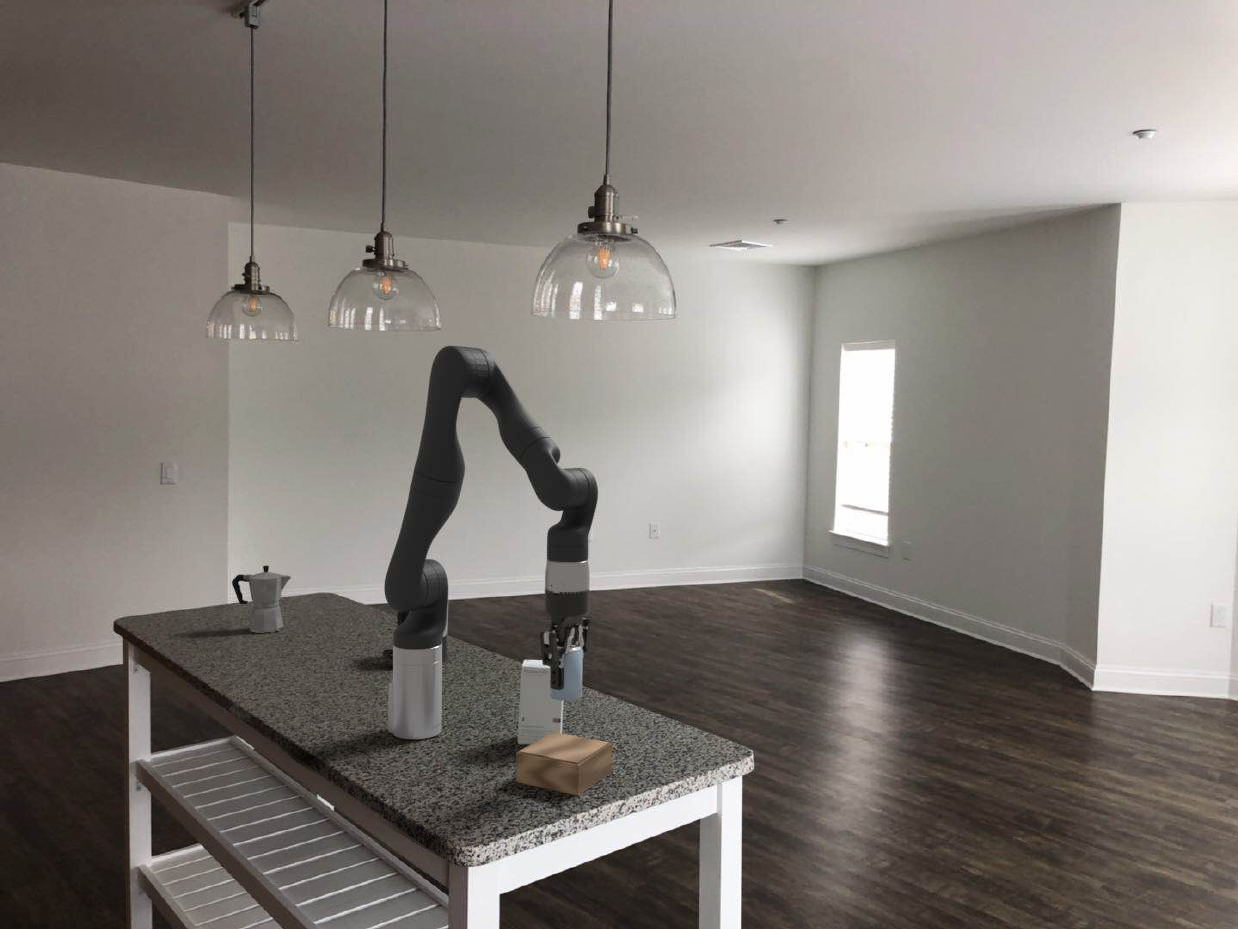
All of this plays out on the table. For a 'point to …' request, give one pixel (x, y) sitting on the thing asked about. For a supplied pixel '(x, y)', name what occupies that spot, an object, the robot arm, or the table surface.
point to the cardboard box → (564, 763)
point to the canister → (570, 676)
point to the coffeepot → (263, 598)
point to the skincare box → (537, 704)
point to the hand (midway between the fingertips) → (565, 684)
